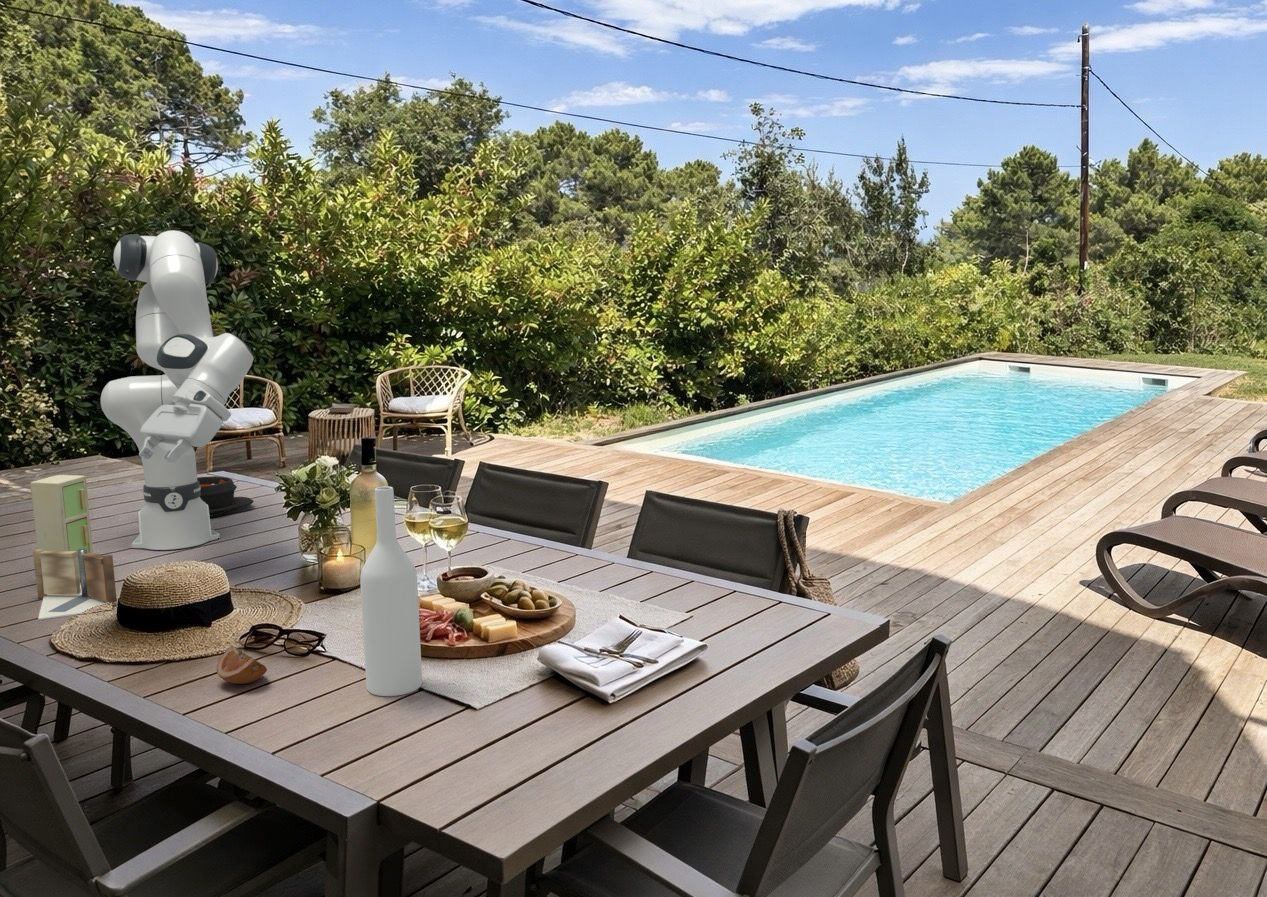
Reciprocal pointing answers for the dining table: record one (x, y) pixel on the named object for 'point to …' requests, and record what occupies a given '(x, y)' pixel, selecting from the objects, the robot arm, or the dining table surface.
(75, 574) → the fence fixed section
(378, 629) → the bottle
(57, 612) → the board
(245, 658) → the fruit slice
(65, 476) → the toy refrigerator
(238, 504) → the casserole
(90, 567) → the fence panel
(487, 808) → the dining table surface
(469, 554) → the dining table surface
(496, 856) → the dining table surface
